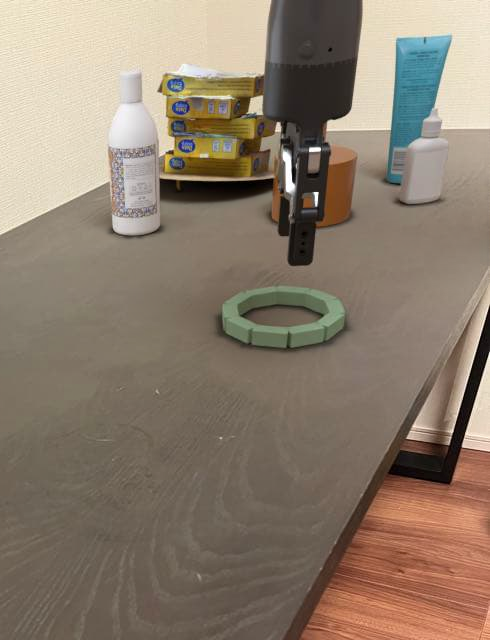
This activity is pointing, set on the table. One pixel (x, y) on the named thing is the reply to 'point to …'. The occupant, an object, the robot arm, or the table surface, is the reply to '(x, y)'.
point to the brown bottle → (329, 186)
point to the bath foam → (133, 162)
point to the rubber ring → (283, 335)
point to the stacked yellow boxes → (214, 126)
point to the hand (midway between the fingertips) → (293, 249)
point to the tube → (413, 93)
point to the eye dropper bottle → (425, 164)
